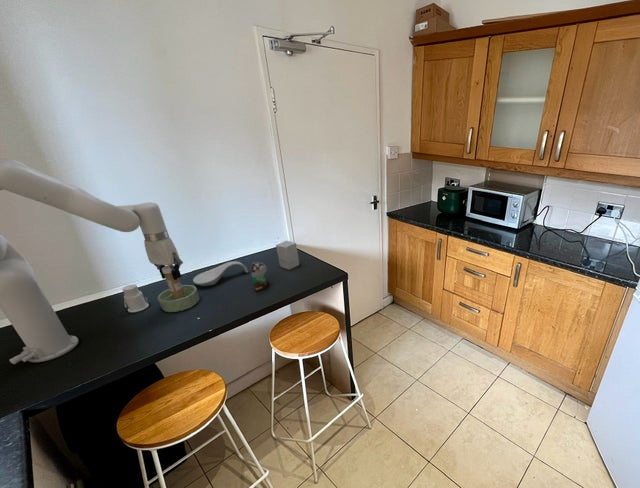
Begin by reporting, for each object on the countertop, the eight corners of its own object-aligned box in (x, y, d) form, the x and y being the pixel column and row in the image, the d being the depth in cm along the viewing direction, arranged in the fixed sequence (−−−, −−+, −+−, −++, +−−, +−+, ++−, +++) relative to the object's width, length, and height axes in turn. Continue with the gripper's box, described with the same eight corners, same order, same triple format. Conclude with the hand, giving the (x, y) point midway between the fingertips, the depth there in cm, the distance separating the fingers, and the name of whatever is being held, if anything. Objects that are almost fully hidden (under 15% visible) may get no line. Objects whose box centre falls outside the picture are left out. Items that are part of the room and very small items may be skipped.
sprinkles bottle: (185, 296, 131) (175, 267, 125) (172, 299, 128) (161, 270, 122) (184, 291, 134) (174, 263, 128) (172, 294, 132) (161, 266, 126)
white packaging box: (300, 264, 168) (296, 242, 162) (288, 270, 162) (284, 247, 156) (290, 261, 171) (287, 240, 166) (279, 266, 165) (275, 244, 160)
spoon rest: (199, 292, 142) (194, 278, 138) (191, 283, 149) (187, 270, 146) (251, 275, 157) (248, 262, 154) (242, 267, 164) (239, 255, 161)
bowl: (182, 314, 126) (178, 303, 123) (153, 311, 128) (149, 299, 126) (207, 297, 138) (203, 286, 135) (180, 294, 140) (176, 283, 138)
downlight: (153, 302, 134) (144, 281, 130) (146, 311, 128) (137, 290, 124) (130, 305, 132) (121, 284, 127) (123, 314, 126) (113, 293, 121)
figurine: (270, 290, 143) (266, 271, 139) (255, 292, 141) (251, 273, 137) (269, 278, 154) (265, 260, 149) (256, 280, 152) (251, 262, 147)
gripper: (128, 237, 117) (146, 280, 125) (167, 240, 115) (182, 284, 123) (146, 231, 124) (162, 271, 132) (183, 233, 121) (197, 275, 129)
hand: (171, 277), depth 127 cm, fingers closed on sprinkles bottle, 4 cm apart
